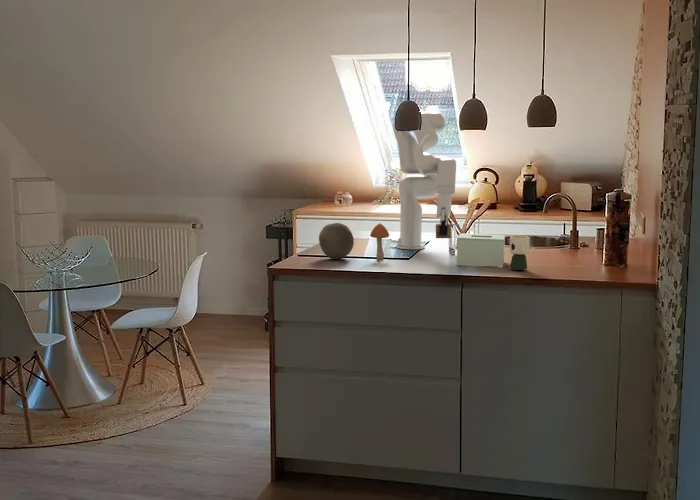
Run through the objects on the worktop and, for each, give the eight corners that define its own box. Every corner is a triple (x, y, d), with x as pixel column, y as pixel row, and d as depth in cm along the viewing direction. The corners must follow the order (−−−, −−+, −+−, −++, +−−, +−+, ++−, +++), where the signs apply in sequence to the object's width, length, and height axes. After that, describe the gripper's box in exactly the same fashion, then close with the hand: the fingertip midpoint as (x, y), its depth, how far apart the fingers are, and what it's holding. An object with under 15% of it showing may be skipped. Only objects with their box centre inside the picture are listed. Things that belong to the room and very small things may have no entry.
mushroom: (371, 261, 325) (372, 224, 323) (368, 258, 333) (368, 222, 331) (390, 260, 326) (391, 224, 324) (386, 257, 334) (387, 221, 332)
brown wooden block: (435, 238, 327) (435, 224, 326) (436, 236, 330) (436, 223, 329) (450, 238, 325) (450, 224, 324) (451, 237, 328) (451, 223, 327)
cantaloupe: (320, 256, 336) (320, 220, 333) (354, 257, 335) (354, 221, 333) (317, 262, 322) (317, 225, 319) (352, 263, 321) (352, 225, 319)
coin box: (456, 265, 318) (457, 237, 316) (459, 259, 330) (460, 233, 328) (502, 267, 314) (504, 239, 312) (503, 261, 326) (505, 235, 325)
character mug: (506, 267, 314) (508, 234, 312) (525, 267, 314) (526, 234, 311) (511, 272, 303) (513, 238, 301) (530, 273, 303) (532, 238, 301)
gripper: (438, 186, 332) (436, 230, 336) (433, 191, 317) (432, 237, 320) (456, 187, 331) (454, 231, 334) (453, 192, 315) (450, 238, 319)
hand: (443, 234), depth 327 cm, fingers closed on brown wooden block, 2 cm apart
